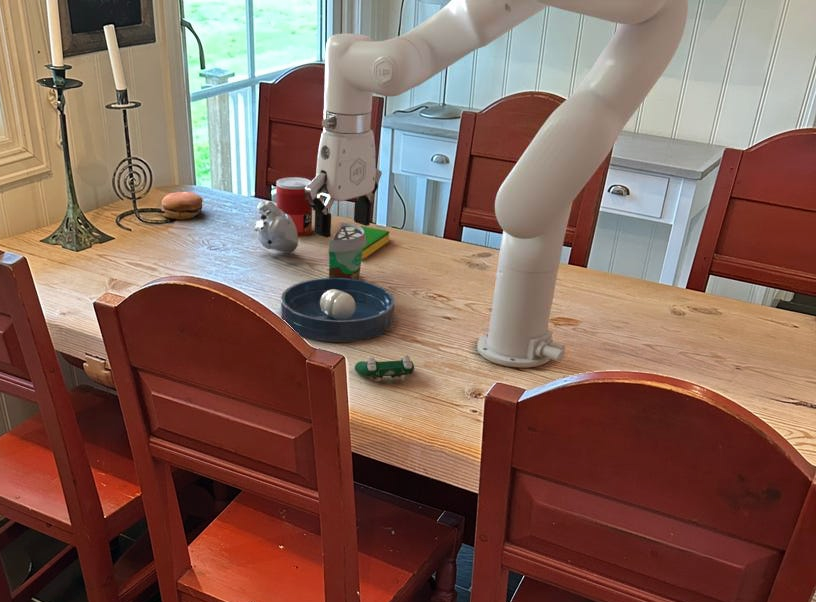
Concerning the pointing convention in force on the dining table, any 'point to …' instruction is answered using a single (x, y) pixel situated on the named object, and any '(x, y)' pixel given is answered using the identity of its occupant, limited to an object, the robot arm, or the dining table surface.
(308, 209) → the canned food
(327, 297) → the egg
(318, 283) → the basin
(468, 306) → the dining table surface
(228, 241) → the dining table surface
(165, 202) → the burger
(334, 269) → the food container
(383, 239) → the dish sponge
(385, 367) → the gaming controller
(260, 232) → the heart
